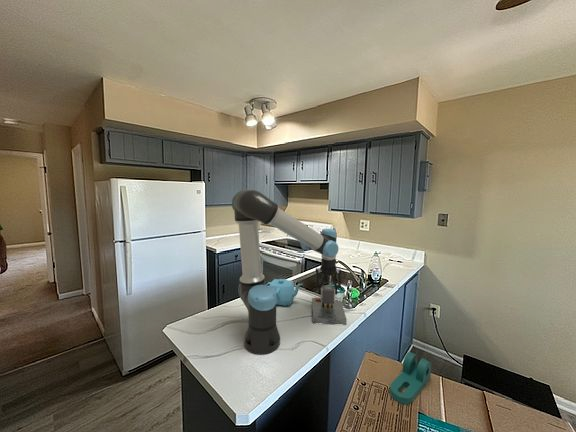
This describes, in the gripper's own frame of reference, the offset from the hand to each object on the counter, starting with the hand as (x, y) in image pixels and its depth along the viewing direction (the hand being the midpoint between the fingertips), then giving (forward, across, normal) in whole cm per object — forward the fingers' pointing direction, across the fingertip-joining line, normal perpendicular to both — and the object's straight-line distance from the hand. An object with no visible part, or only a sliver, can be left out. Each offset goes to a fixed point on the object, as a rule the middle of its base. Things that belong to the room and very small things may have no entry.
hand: (327, 299), depth 134 cm
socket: (+6, 0, +3) cm, 7 cm away
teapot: (+6, +24, -7) cm, 26 cm away
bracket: (+6, -23, +50) cm, 55 cm away
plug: (+3, 0, 0) cm, 3 cm away
